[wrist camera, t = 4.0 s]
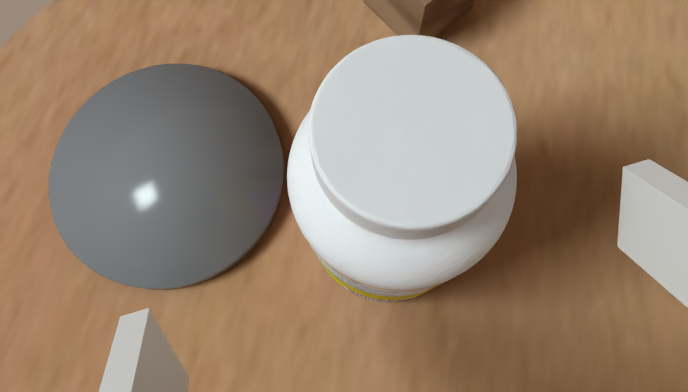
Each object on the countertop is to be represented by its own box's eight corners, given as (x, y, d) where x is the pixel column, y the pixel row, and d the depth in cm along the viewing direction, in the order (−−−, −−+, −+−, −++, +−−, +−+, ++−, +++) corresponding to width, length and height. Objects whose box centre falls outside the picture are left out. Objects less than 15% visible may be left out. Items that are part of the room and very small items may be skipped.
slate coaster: (232, 38, 26) (228, 29, 26) (322, 225, 24) (321, 222, 23) (30, 126, 25) (19, 120, 25) (101, 331, 23) (92, 331, 22)
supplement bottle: (402, 137, 25) (446, -54, 12) (486, 249, 23) (633, 160, 11) (286, 213, 24) (209, 90, 12) (365, 334, 23) (376, 341, 10)
